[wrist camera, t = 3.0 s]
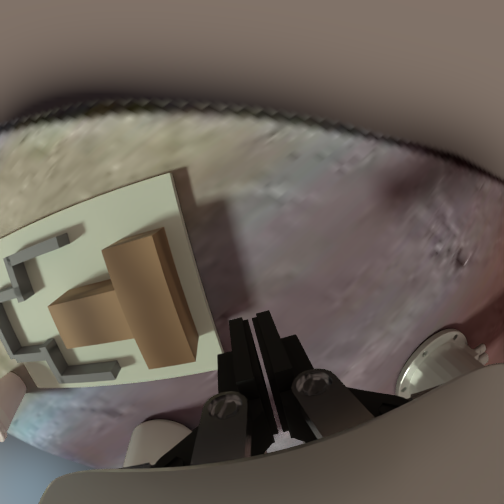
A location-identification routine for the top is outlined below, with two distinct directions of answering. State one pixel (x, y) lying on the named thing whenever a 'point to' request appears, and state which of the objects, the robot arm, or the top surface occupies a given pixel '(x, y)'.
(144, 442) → the mug
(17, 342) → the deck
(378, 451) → the robot arm
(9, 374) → the smoothie
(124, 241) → the t block
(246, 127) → the top surface
